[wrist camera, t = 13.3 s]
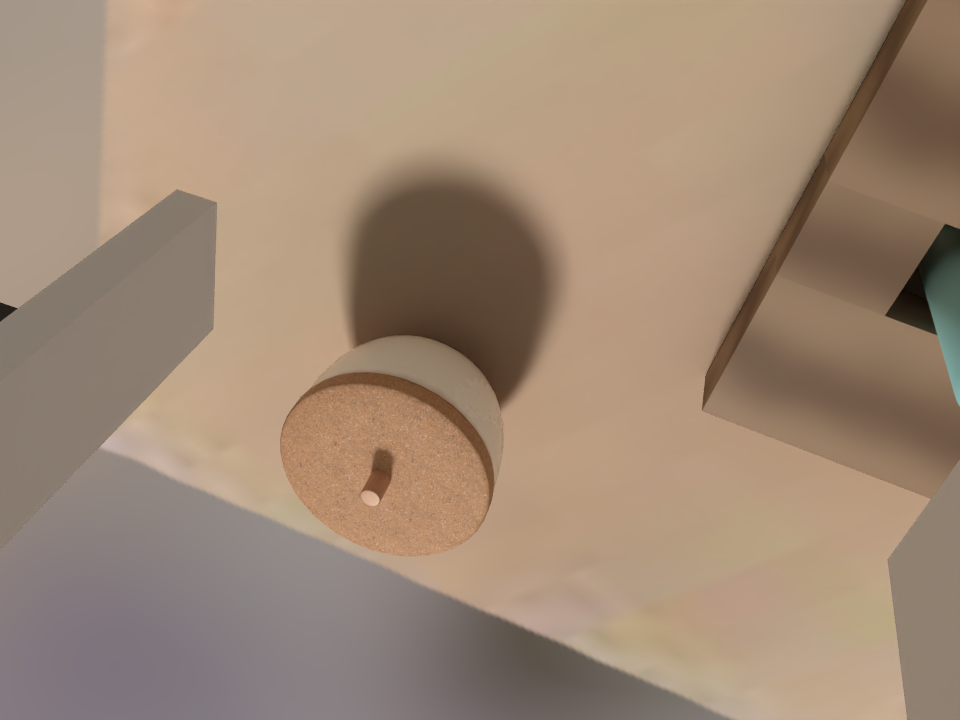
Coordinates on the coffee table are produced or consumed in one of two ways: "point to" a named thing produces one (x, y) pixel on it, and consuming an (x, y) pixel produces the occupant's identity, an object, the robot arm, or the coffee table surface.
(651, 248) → the coffee table surface
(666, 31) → the coffee table surface
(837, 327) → the hole block
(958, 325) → the peg
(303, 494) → the lidded jar
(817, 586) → the coffee table surface
